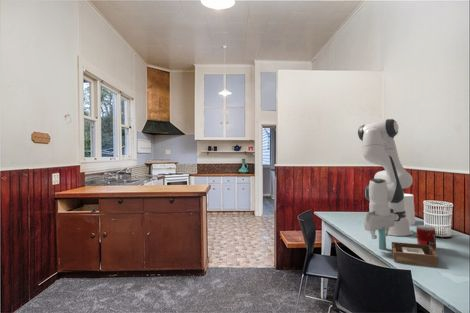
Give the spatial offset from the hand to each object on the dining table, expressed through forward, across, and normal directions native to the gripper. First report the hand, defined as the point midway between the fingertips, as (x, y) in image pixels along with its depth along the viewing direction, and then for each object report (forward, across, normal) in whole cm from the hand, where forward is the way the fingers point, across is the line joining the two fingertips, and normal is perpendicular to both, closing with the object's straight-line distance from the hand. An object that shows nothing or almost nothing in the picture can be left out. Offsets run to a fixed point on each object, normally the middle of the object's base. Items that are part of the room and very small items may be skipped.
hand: (379, 237), depth 138 cm
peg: (+6, +1, -1) cm, 6 cm away
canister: (+5, +65, +25) cm, 70 cm away
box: (+6, -1, -16) cm, 17 cm away
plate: (+6, -1, -16) cm, 17 cm away
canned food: (+6, +20, -12) cm, 24 cm away
